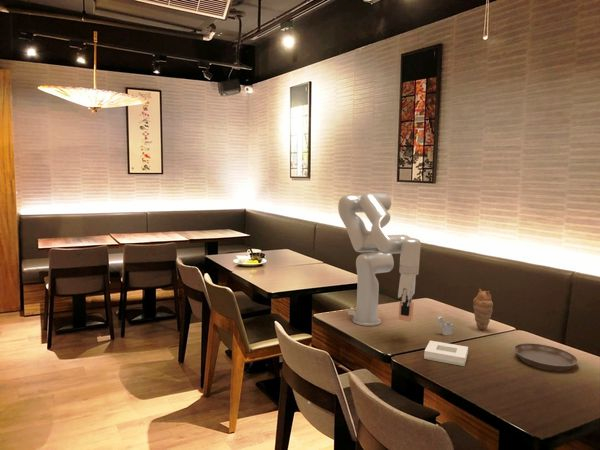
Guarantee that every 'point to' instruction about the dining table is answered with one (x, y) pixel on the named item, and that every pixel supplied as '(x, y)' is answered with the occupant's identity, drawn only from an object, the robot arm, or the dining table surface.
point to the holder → (446, 353)
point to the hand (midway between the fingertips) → (405, 313)
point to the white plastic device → (445, 326)
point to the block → (409, 318)
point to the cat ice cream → (482, 309)
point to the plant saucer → (545, 357)
